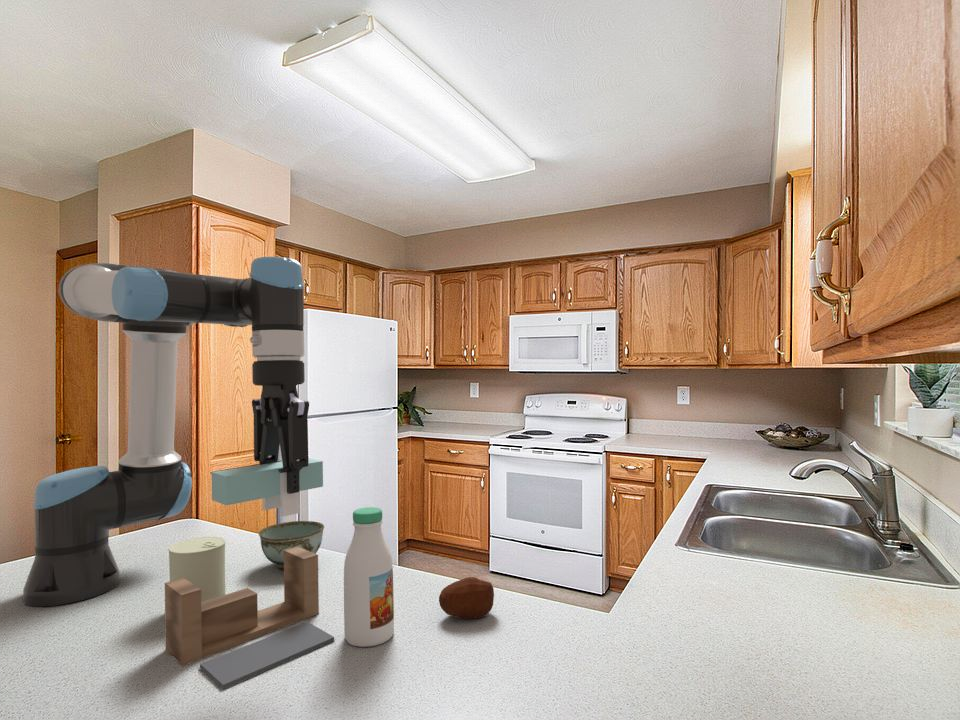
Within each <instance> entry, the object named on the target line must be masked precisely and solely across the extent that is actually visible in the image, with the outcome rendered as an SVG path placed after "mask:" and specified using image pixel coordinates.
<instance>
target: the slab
mask: <svg viewBox="0 0 960 720" xmlns="http://www.w3.org/2000/svg"><path fill="white" fill-rule="evenodd" d="M308 461H309V463H308V466H307V467H303V468H302V469H301V470H300V472H299V481H300V482H299V483H300V492H303V491H307V490H313V489H317V488H318V489H319V488H323V487H324V465H323V464H324V462H323V460H319V459H313V458H309V457H308ZM282 468H283V463H282V462H276V463H269V464H263V465H260V464H257V465H251V466H243V467H237V468H230V469H224V470H216V471H211V473H210V475H211V476H210V477H211V501H214V502H217V503H219V504H220V505H224V506H231V505H236V504H241V503H245V502H246V503H247V502H250V501H257V500H262V498H267V497H272V496H278V495H280V472H279V469H282Z"/></svg>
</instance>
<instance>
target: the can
mask: <svg viewBox="0 0 960 720" xmlns="http://www.w3.org/2000/svg"><path fill="white" fill-rule="evenodd" d="M168 558H169V560H168V562H169V564H168V565H169V567H168V568H169V582H170V581H174V580H177V579H181V578H185V579H186V580H188V581H189V582H191V583H192V584H194V585H195V586H197V587H198V588H200V589H201V602H204V601H207V600H210V599H213V598H216V597H220V596H223V595H226V594H227V593H226V539H225V538H222V537H218V536H204V537H201V536H200V537H195V538H190V539H189V538H188V539H185V540H182V541H179V542H176V543H174V544H172V545H170V546H169V547H168Z"/></svg>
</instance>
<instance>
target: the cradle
mask: <svg viewBox="0 0 960 720" xmlns="http://www.w3.org/2000/svg"><path fill="white" fill-rule="evenodd" d="M283 588H284V589H283V593H284V595H283V597H284V598H283V601H282V602H280V603H277V604H274V605H271V606H268V607H265V608H262V609H259V610H258V592H255V591H254V590H252V589H251V588H248V587H245V588H242V589H239V590H236V591H233V592H232V591H231V592H230V593H226V595H223V596H220V597H216V598H213V599H210V600H207V601H204V602H201V589H200V588H198V587H197V586H195V585H194V584H192V583H191V582H189V581H188V580H186V579H185V578H181V579H177V580H174V581H170V580H169V581H167V582H164V625H165V628H164V635H165V637H164V638H165V641H164V642H165V645H164V646H165V649H164V650H165V651H166V652H167V653H168V654H169V655H170V656H171V657H172V658H173V659H174V660H175V661H176V662H177V663H179V664H180V666H181V667H184V666H186V665H188V664H192V663H194V662H197V661H199V660H202V659H205V658H207V657H210V656H212V655H215V654H218V653H220V652H222V651H225V650H227V649H230V648H233V647H236V646H238V645H240V644H243V643H246V642H249V641H251V640H253V639H256V638H260V637H261V636H265V635H266V634H270V633H272V632H274V631H277V630H279V629H283V628H285V627H288V626H290V625H293V624H295V623H297V622H300V621H303V620H306V619H308V618H311V617H314V616H316V615H319V613H320V611H319V610H320V609H319V608H320V606H319V605H320V604H319V601H320V600H319V596H320V595H319V554H318V553H316V554H315V553H312V552H310V551H308V550H305V549H303V548H300V547H298V546H297V547H294V548H290V549H286V550H284V570H283Z"/></svg>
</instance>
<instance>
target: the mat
mask: <svg viewBox="0 0 960 720" xmlns="http://www.w3.org/2000/svg"><path fill="white" fill-rule="evenodd" d="M333 642H335V636H333V635H331V634H330V633H328V632H326V630H325V631H324V630H323V629H321V628H320V627H318V626H316V625H314V624H313V623H311V622H309V621H306V622H303V623H301V624H298V625H295V626H292V627H291V628H290V627H289V628H288V629H285V630H282V631H280V632H277V633H276V634H273V635H269V636H266V637H264V638H262V639H260V640H257V641H254V642H251V643H250V644H246V645H244V646H242V647H239V648H236V649H234V650H231V651H229V652H227V653H224V654H222V655H219V656H216V657H214V658H211V659H209V660H206V661H203V662H201V663H199V669H200V670H202V672H204V673H205V674H206V676H208V677H209V678H210V679H212V681H213V682H215V684H217V685H218V686H219V687H220V688H221V689H222V690H225V689H227V688H230V687H232V686H234V685H237V684H238V683H240V682H243V681H245V680H249V679H250V678H253V677H255V676H257V675H260V674H261V673H264V672H267V671H268V670H270V669H273V668H275V667H276V668H277V667H278V666H279V665H280V666H281V665H282V664H284V663H287V662H289V661H291V660H294V659H297V658H298V657H301V656H303V655H305V654H307V653H310V652H313V651H314V650H318V648H319V649H320V648H321V647H323V646H326V645H328V644H330V643H333Z"/></svg>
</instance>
